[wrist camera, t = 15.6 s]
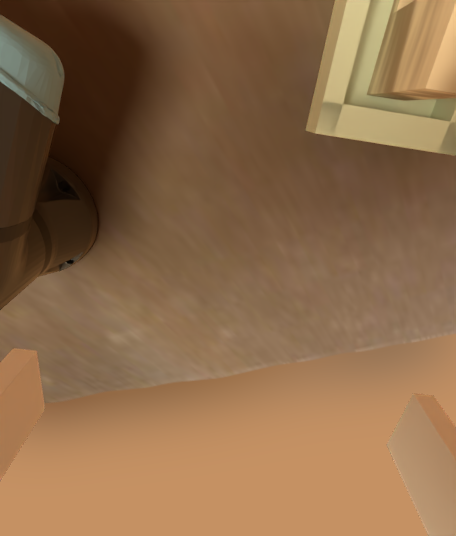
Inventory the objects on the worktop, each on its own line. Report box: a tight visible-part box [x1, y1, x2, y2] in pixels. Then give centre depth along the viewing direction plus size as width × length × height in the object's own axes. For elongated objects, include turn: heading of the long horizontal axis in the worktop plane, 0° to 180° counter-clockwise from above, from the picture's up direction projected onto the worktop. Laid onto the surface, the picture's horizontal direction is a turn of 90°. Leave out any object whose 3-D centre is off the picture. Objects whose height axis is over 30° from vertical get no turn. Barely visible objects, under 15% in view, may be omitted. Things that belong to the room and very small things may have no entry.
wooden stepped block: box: [367, 0, 456, 101], centre depth 28 cm, size 4×10×12 cm, turn 172°
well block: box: [305, 0, 456, 156], centre depth 32 cm, size 15×19×5 cm
